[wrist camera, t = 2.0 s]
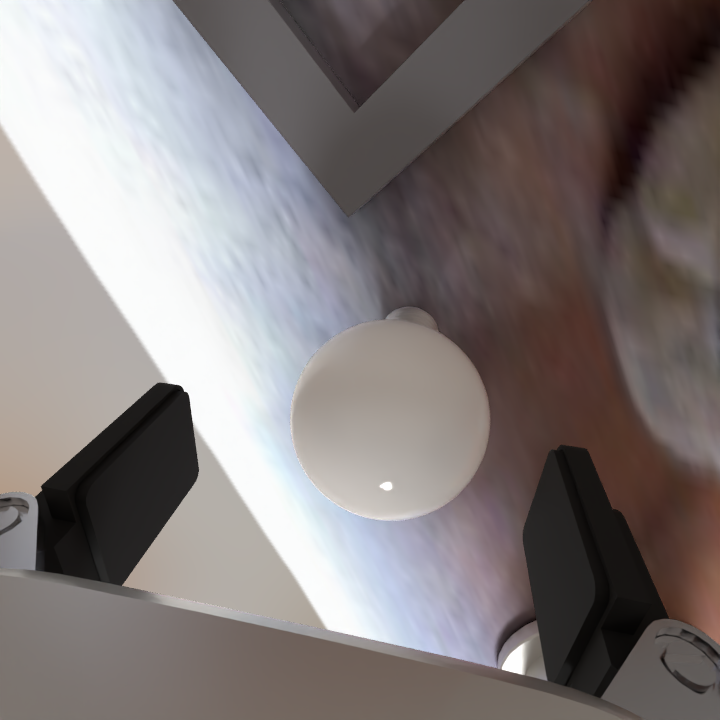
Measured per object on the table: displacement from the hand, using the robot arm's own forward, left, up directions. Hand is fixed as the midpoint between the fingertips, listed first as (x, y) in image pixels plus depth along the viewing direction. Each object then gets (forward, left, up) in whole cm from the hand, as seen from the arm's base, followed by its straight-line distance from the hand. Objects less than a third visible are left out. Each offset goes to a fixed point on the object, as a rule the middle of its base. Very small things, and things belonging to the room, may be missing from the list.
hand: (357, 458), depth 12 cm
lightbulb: (-1, 0, -11) cm, 11 cm away
